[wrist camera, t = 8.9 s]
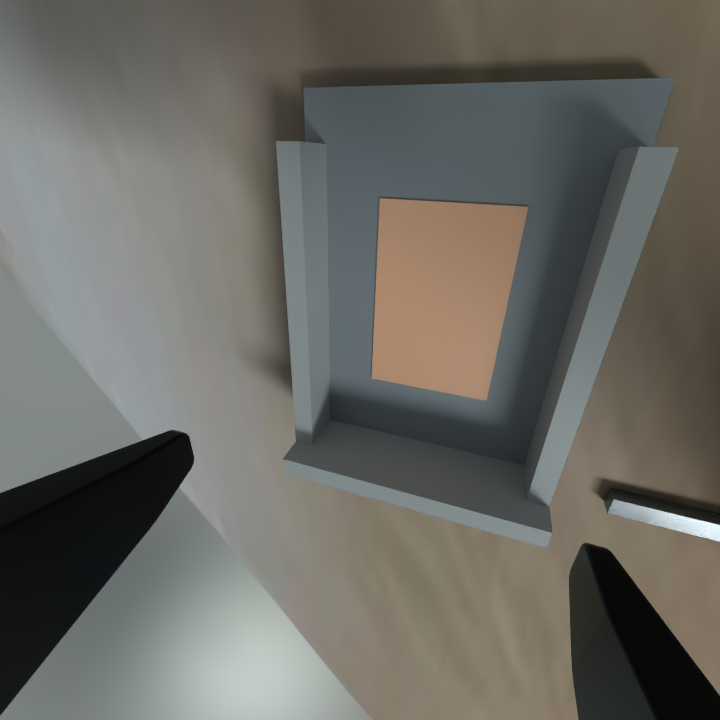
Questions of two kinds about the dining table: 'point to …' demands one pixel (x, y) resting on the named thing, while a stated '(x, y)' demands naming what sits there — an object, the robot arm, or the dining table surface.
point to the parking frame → (663, 514)
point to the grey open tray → (460, 283)
